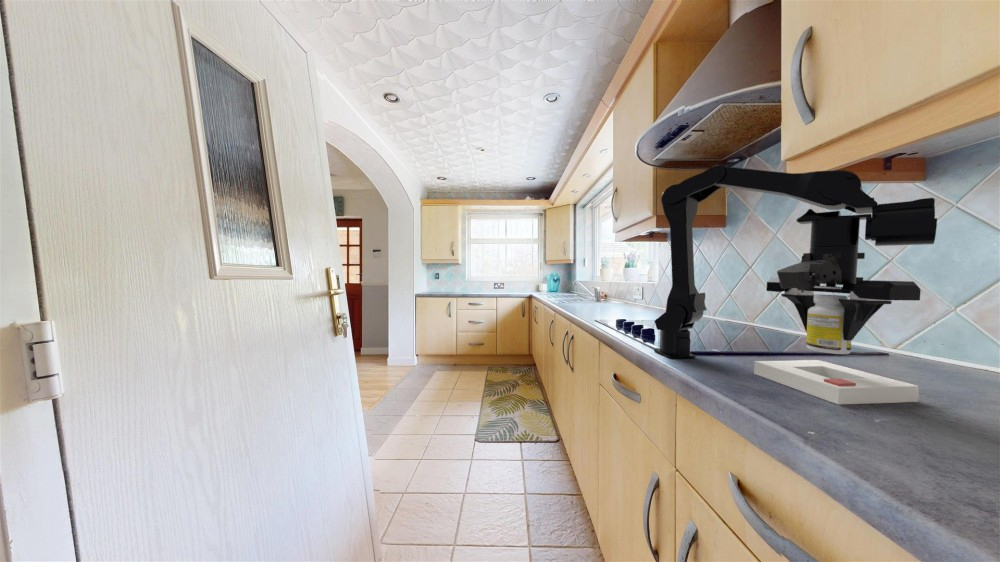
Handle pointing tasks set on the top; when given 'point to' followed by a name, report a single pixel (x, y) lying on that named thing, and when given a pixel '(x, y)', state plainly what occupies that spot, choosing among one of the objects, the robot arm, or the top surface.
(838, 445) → the top surface
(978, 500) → the top surface
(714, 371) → the top surface
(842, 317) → the supplement bottle
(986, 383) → the top surface
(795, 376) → the socket plate
